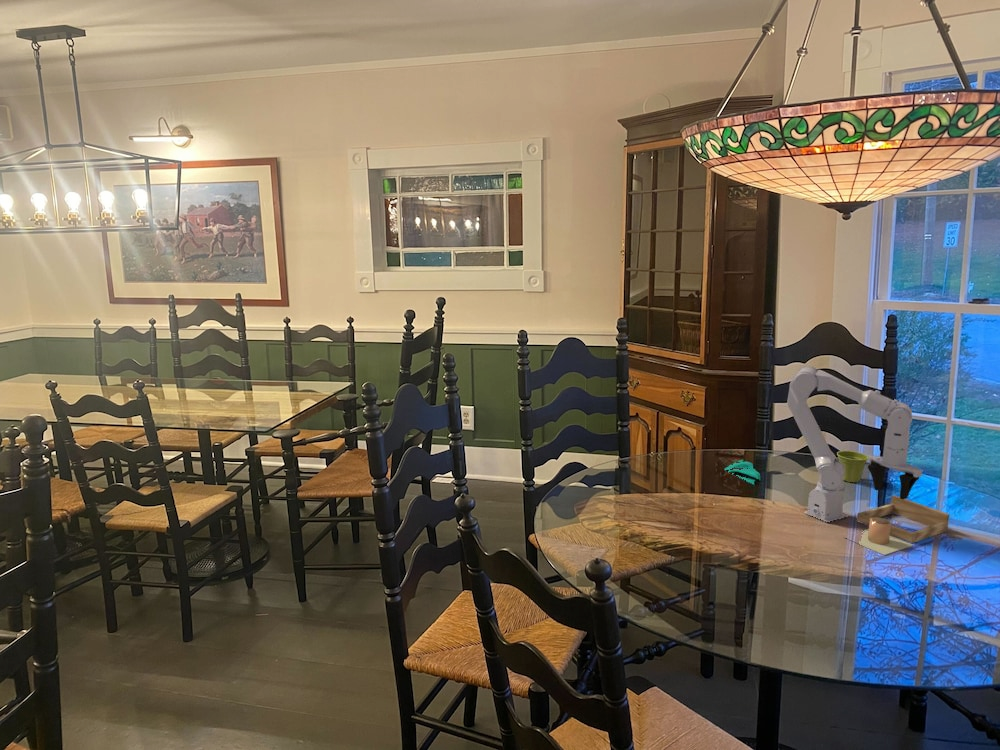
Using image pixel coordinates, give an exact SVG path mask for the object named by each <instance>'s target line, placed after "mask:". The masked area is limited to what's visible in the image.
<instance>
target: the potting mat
mask: <svg viewBox="0 0 1000 750" xmlns="http://www.w3.org/2000/svg"><path fill="white" fill-rule="evenodd" d="M862 531H863V530H862ZM864 531H865V532H864ZM864 531H863V532H864V533H863V532H862V533H863V535H861V536H862V538H861V541H859V544H860V546H861V545H862V547H864V548H866V549H869V550H871V551H873V552H875V553H879V554H880V555H882V556H886V555H889V554H892V553H895V552H898V551H901V550H904V549H907V548H910V547H913V546H914V543H910V542H907V541H905V540H902V539H900V538H897V537H895V536H892V535H890V538H889V543H888V544H885V545H882V544H876V543H873V542H871V541H869V540H868V532H869V528H867V529H864ZM859 544H858V545H859Z"/></svg>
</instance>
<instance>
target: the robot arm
mask: <svg viewBox="0 0 1000 750" xmlns="http://www.w3.org/2000/svg"><path fill="white" fill-rule="evenodd" d="M815 389H817V390H816V391H817V392H821V391H822V392H823V391H832V392H834V393H836V394H839V395H841V396H843V397H846V398H848V399H850V400H852V401H856V402H857V403H858V406H859V408H860V409H862V410H863V411H866V412H868V413H870V414H872V415H874V416H877V417H878V418H880V419H882V420H884V419H885V420H886V421H887V427H886V429H885V433H884V434H885V436H884V445H883V454H882V456H879V455H875V454H869V455H867V456H868V460H867V461H866V463H869V464H868V465H867V469H868V470H869V473H870V475H871V479H872V481H873V488H874V491H879V490H882V487H883V483H884V476H885V472H886V470H887V468H888V469H892V470H895V471H898V472H901V473H903V474H899V475H898V477H899V482H900V492H899V493H900V494H899V497H900V499H906V500H907V499H908V496H909V494H910V492H911V490H912V488H913V486H915V484H916V482H917V481H918V480H919V479H920V477H922V471H923V469H921V468H918V467H916V466H914V465H911V464H910V463H907V460H908V459H907V458H908V450H909V444H910V437H911V436H910V435H911V434H910V429H911V424H912V421H913V412H912V409H911V408H910V406H909V405H907V404H906V403H905V402H903V401H899V400H898V399H895V398H894V400H893V399H891V398H890V397H888V396H885V395H882V394H881V391H880V390H877V389H876V390H875V391H874V390H872V389H869V390H864V391H863V390H862V389H860V388H858V387H855V386H854V385H852V384H850V383H848V382H846V381H844V380H841V379H840V378H838V377H836V376H834V375H832V374H830V373H828V372H826V371H824V370H821V369H817V368H816V367H813V366H810V365H808V366H807V365H806V366H803V367H801V368H800V369H799V370H798V371H797V373H796V374H795V375H794V376H793V377H792V379H791V381H790V383H789V389H788V395H787V402H786V403H787V407H788V408H789V410H790V413H791V414H792V416H793V418H794V420H795V423H796V425H797V427H798V428H799V430H800V432H801V435H802V437H803V438H804V440H805V442H806V445H807V446H808V448H809V450H810V452H811V455H812V457H813V458H814V461H815V468H816V469H817V471H818V481H817V484H816V487H815V488H813V489H812V490H811V491H810V492H809V493H808V499H807V500H808V501H807V509H806V510H805V511H804V514H805V515H808V516H811V517H812V516H813V518H815V517H816V518H815V519H817V518H818V520H820V519H821V520H820V521H822V520H824V521H823V522H825V521H826V522H825V523H827V522H829V523H831V522H830V521H832V522H834V521H833V520H836V521H838V520H837V519H839V520H841V519H840V518H842V519H845V518H844V517H846V518H848V516H849V517H850V515H849V514H847V513H844V512H843V511H844V499H845V491H846V490H845V489H846V485H845V484H844V481H843V477H844V475H845V472H846V470H845V466H844V465H843V464H842V463H841V462H840V461H839V459H838V457H836V455H835V453H834V452H833V451H832V450H831V449H830V447H829V444H828V441H827V440H826V438H825V437H824V435H823V432H822V431H821V428H820V425H818V422H817V421H816V418H815V417H814V414H813V412H812V411H811V408H810V405H808V399H809V398H810V395H811V394H812V392H813V391H814V390H815Z"/></svg>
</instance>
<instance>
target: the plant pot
mask: <svg viewBox="0 0 1000 750" xmlns="http://www.w3.org/2000/svg"><path fill="white" fill-rule="evenodd" d="M836 455H837V459H838V460H839V461H840V462H841V463H842V464H843V465H844V466H845V470H846V472H845V475H844V477H843V482H844V481H846V482H847V483H850V482H853V484H855V483H854V482H857V483H859V481H860V482H861V479H862V475H863V472H864V469H865V465H866V463H867V461H868V456H869V455H867V454H865V453H862V452H860V451H854V450H852V451H850V450H840V451H837V452H836Z"/></svg>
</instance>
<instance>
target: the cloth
mask: <svg viewBox="0 0 1000 750" xmlns="http://www.w3.org/2000/svg"><path fill="white" fill-rule="evenodd" d="M743 461H744V459H740V460H737V461H736V462H740V463H736V462H734V463H732V464H733V465H732V464H729V465H728V466H727V467H725V468H724V471H726V470H729V471H728V472H727V473H729V472H736V473H737V474H739V473H741V475H743V476H745V477H741V476H739V475H736V476H738V477H739V479H741V480H743V479H744V480H743V481H745V480H746V482H747V483H749V484H752V485H754V486H756V485H755V482H756V480H758V481H759V482H761V474H760V473H759V472H758V471H757V470H756V469H755V468H754V465H753V464H754V463H752V462H751V461H750V462H749V461H744V462H743ZM734 467H735V468H743V469H741V470H739V469H733V470H730V469H732V468H734ZM747 468H748V469H747ZM733 474H734V473H732V474H731V475H733ZM736 476H735V477H736ZM738 477H737V478H738ZM746 477H748V478H746Z"/></svg>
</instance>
